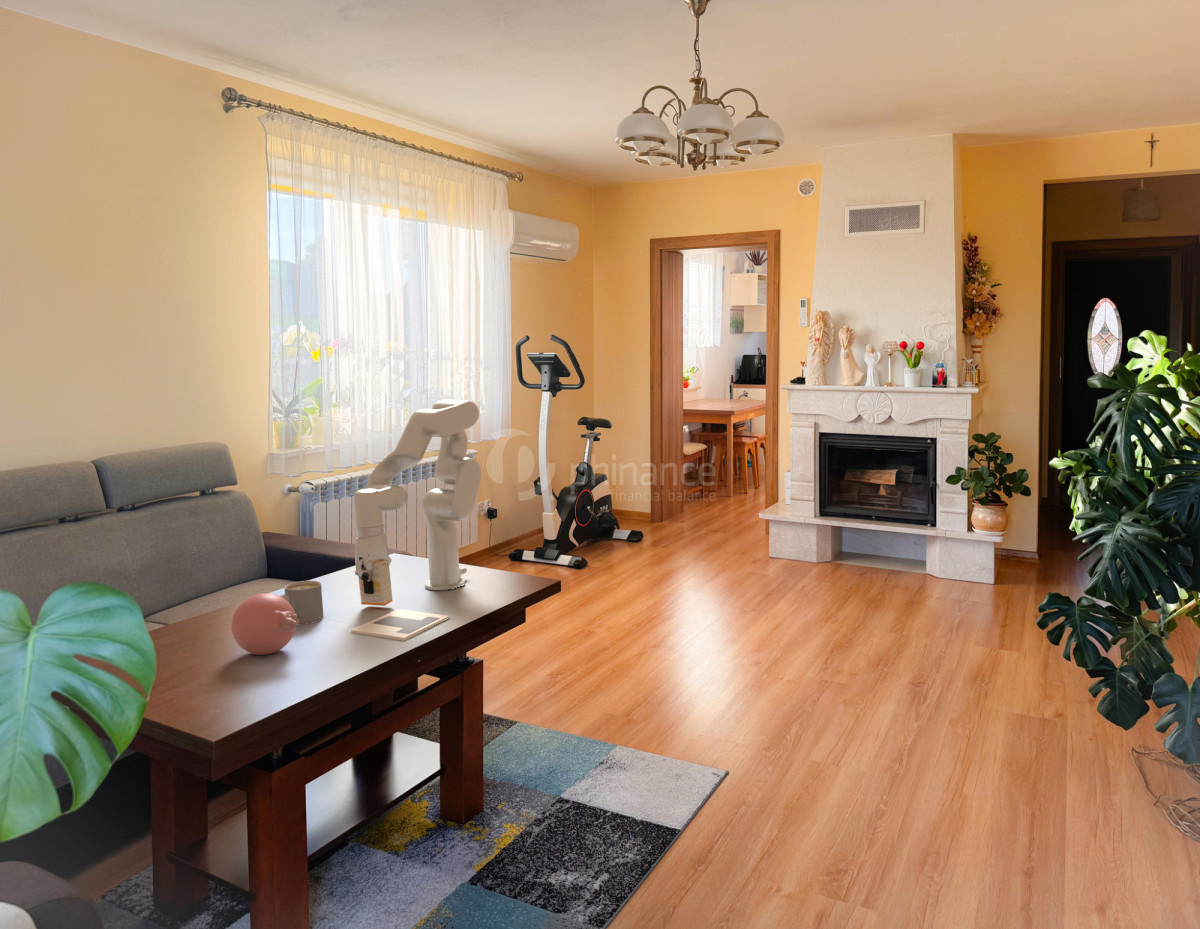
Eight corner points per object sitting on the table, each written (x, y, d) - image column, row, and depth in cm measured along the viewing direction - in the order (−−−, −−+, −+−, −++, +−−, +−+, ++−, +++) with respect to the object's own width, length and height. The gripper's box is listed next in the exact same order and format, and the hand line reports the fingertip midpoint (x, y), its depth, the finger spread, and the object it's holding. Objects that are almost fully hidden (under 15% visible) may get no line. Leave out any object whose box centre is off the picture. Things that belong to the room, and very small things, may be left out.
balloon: (269, 671, 207) (264, 609, 205) (221, 656, 219) (216, 597, 217) (322, 652, 220) (318, 593, 218) (274, 639, 231) (269, 583, 229)
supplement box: (393, 601, 258) (389, 558, 256) (384, 606, 254) (380, 563, 252) (369, 599, 261) (365, 557, 259) (360, 604, 256) (356, 561, 254)
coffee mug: (320, 611, 255) (317, 578, 253) (326, 620, 246) (323, 586, 245) (272, 619, 249) (269, 585, 247) (276, 628, 240) (273, 593, 238)
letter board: (398, 611, 253) (398, 608, 253) (449, 618, 245) (449, 615, 245) (351, 632, 235) (350, 629, 235) (404, 640, 227) (403, 637, 227)
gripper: (379, 523, 263) (384, 581, 266) (340, 537, 248) (346, 598, 251) (399, 525, 260) (404, 583, 263) (360, 538, 245) (366, 600, 247)
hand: (375, 590), depth 257 cm, fingers closed on supplement box, 5 cm apart
